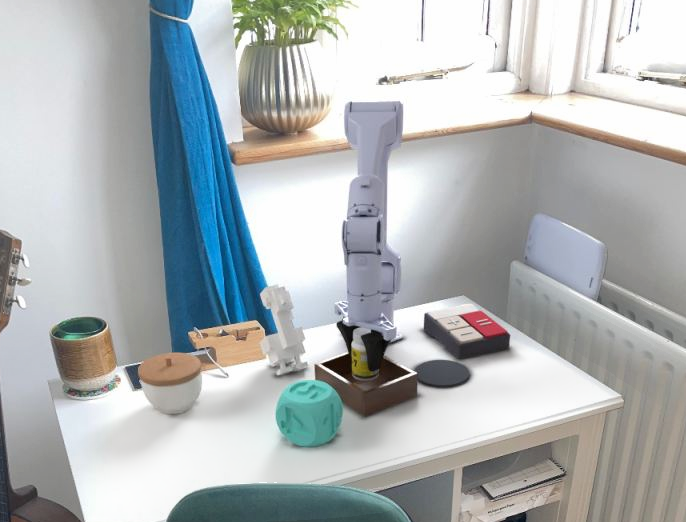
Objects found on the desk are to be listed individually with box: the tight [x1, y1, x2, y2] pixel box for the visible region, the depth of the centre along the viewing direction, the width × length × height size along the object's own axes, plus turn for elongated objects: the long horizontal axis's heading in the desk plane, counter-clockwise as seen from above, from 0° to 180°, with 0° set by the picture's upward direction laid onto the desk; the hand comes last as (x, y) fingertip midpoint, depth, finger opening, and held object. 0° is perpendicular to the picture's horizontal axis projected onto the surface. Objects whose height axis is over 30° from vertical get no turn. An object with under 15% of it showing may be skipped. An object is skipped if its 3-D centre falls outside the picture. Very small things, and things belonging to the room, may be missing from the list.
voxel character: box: [259, 283, 309, 376], centre depth 147 cm, size 7×12×15 cm
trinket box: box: [137, 352, 203, 415], centre depth 138 cm, size 11×11×9 cm
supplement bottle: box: [351, 327, 379, 381], centre depth 138 cm, size 5×5×8 cm
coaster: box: [413, 359, 471, 388], centre depth 146 cm, size 10×10×1 cm
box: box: [314, 351, 419, 418], centre depth 141 cm, size 15×12×4 cm
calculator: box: [423, 302, 511, 360], centre depth 157 cm, size 11×4×15 cm
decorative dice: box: [275, 379, 344, 448], centre depth 128 cm, size 8×8×8 cm
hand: (365, 363), depth 139 cm, fingers closed on supplement bottle, 5 cm apart
